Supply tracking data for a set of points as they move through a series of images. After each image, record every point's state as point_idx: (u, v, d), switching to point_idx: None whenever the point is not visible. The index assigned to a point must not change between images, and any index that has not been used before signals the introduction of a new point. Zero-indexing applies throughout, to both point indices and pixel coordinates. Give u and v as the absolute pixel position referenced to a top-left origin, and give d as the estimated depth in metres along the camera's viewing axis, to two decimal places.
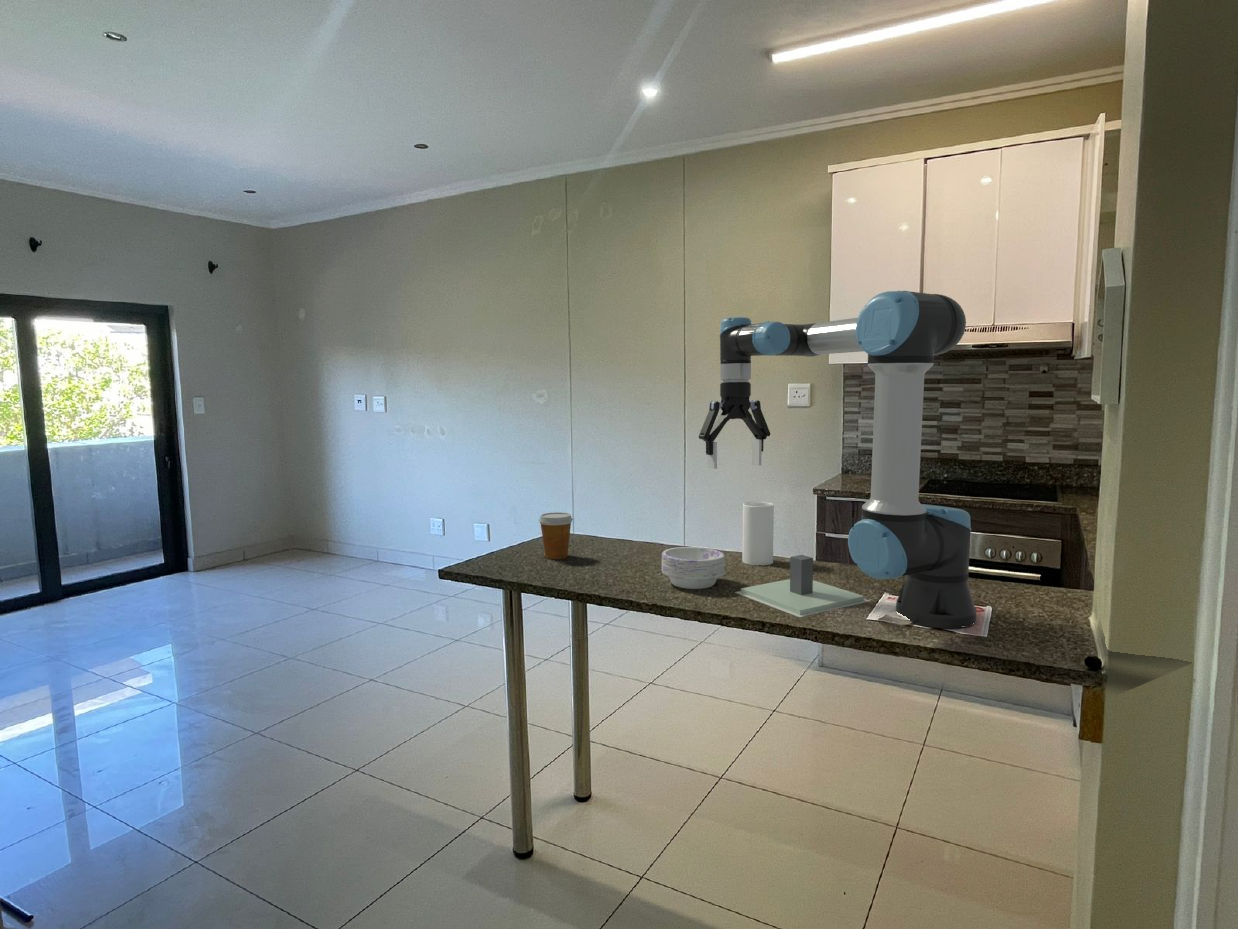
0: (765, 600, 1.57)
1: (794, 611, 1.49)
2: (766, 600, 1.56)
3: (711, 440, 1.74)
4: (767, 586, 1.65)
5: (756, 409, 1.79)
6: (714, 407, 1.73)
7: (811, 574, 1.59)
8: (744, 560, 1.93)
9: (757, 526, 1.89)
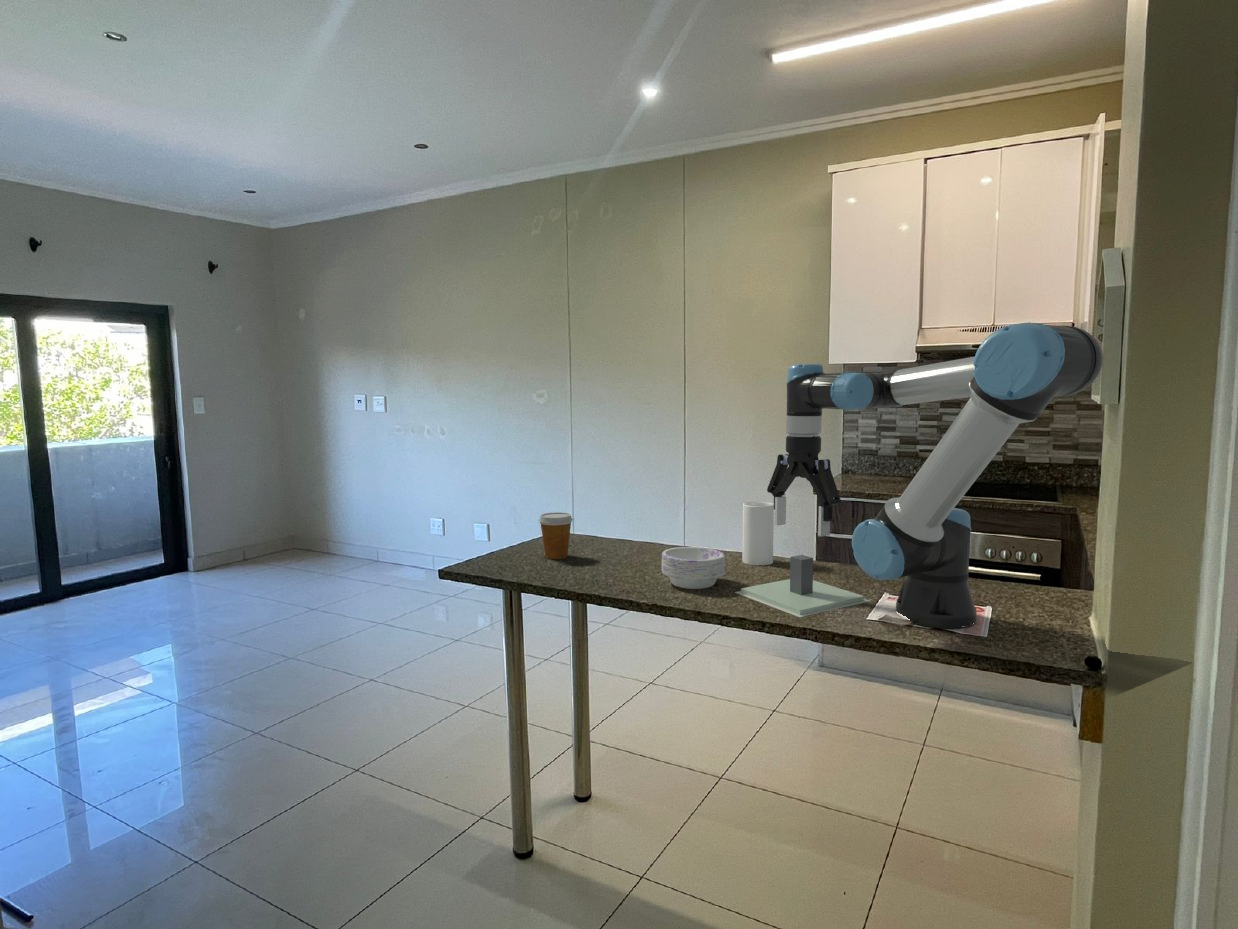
0: (765, 600, 1.57)
1: (794, 611, 1.49)
2: (766, 600, 1.56)
3: (773, 494, 1.65)
4: (767, 586, 1.65)
5: None
6: None
7: (811, 574, 1.59)
8: (744, 560, 1.93)
9: (757, 526, 1.89)
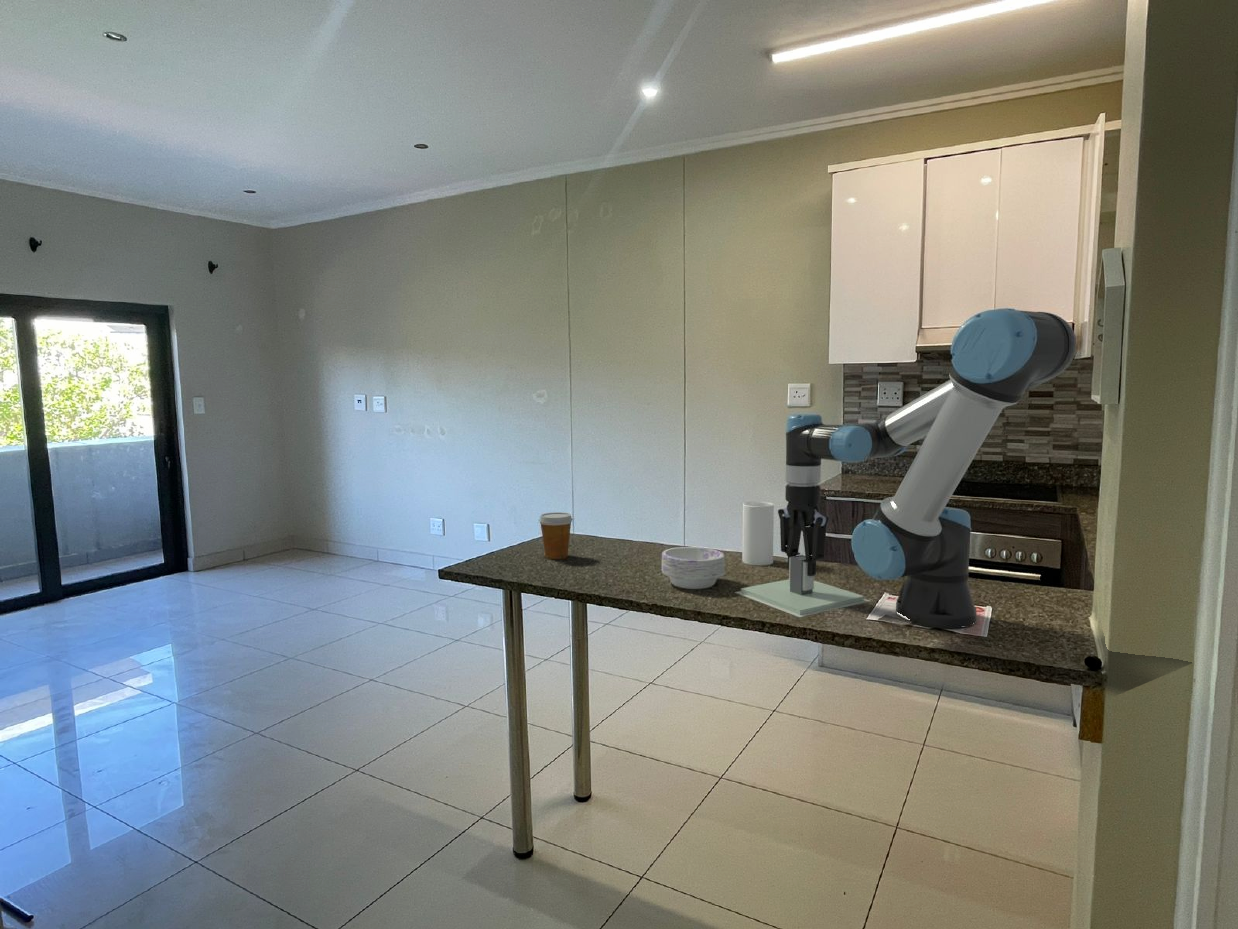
0: (765, 600, 1.57)
1: (794, 611, 1.49)
2: (766, 600, 1.56)
3: (787, 555, 1.62)
4: (767, 586, 1.65)
5: None
6: None
7: None
8: (744, 560, 1.93)
9: (757, 526, 1.89)
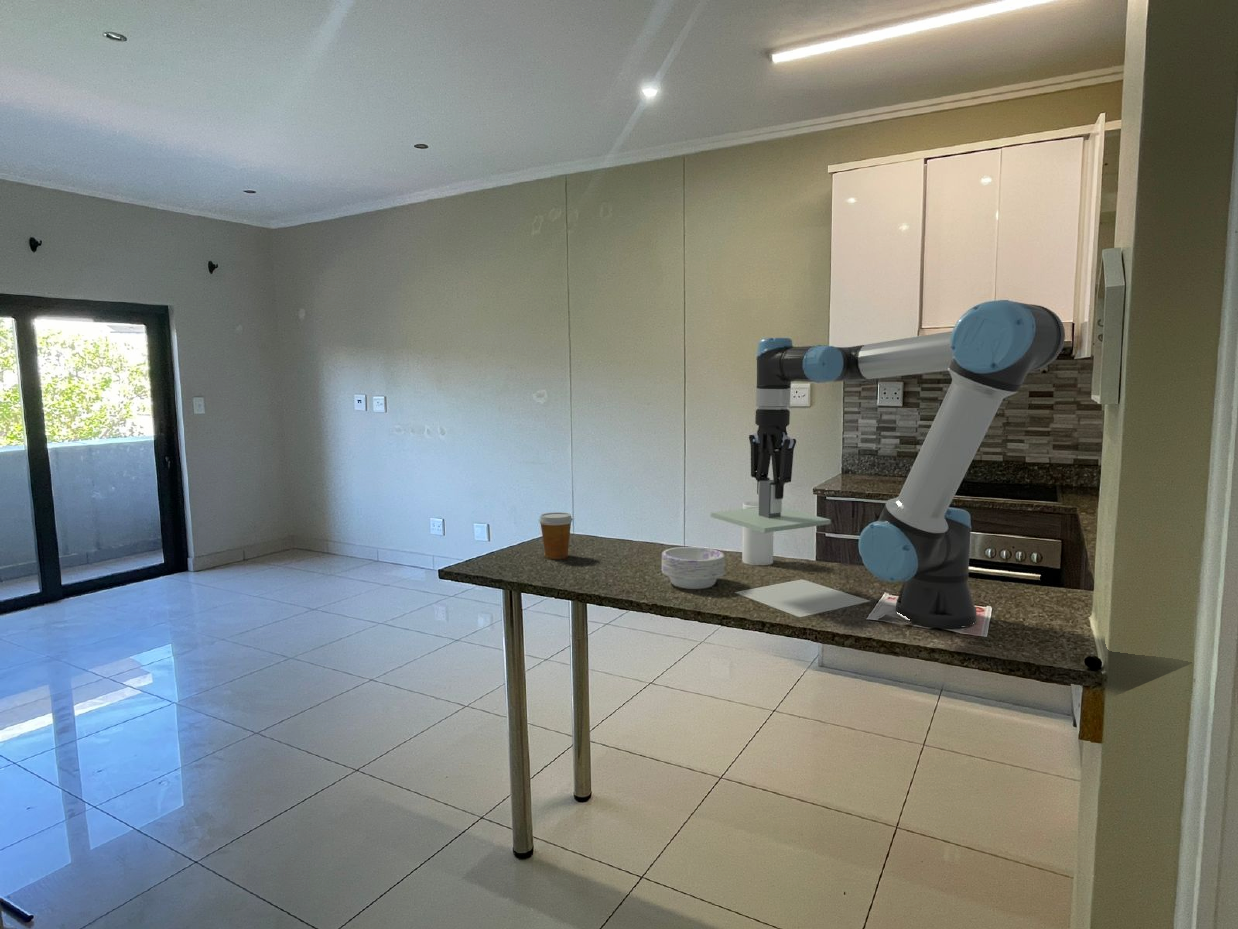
0: (733, 521, 1.59)
1: (759, 529, 1.51)
2: (734, 521, 1.59)
3: (757, 479, 1.64)
4: (737, 511, 1.67)
5: None
6: None
7: None
8: (744, 560, 1.93)
9: None
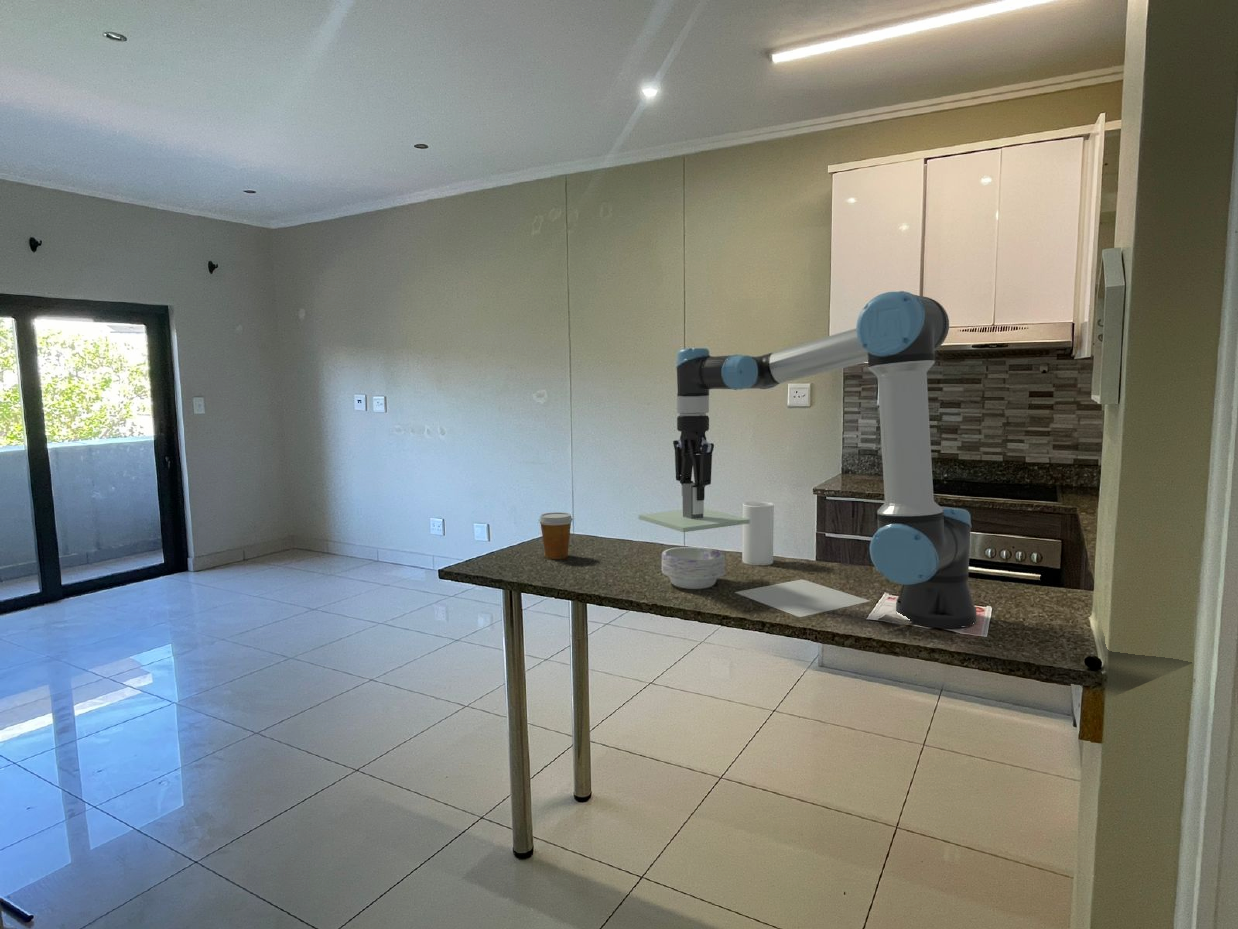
0: (657, 523, 1.67)
1: (679, 529, 1.59)
2: (657, 522, 1.67)
3: (681, 483, 1.72)
4: (664, 513, 1.76)
5: None
6: None
7: None
8: (744, 560, 1.93)
9: (757, 526, 1.89)
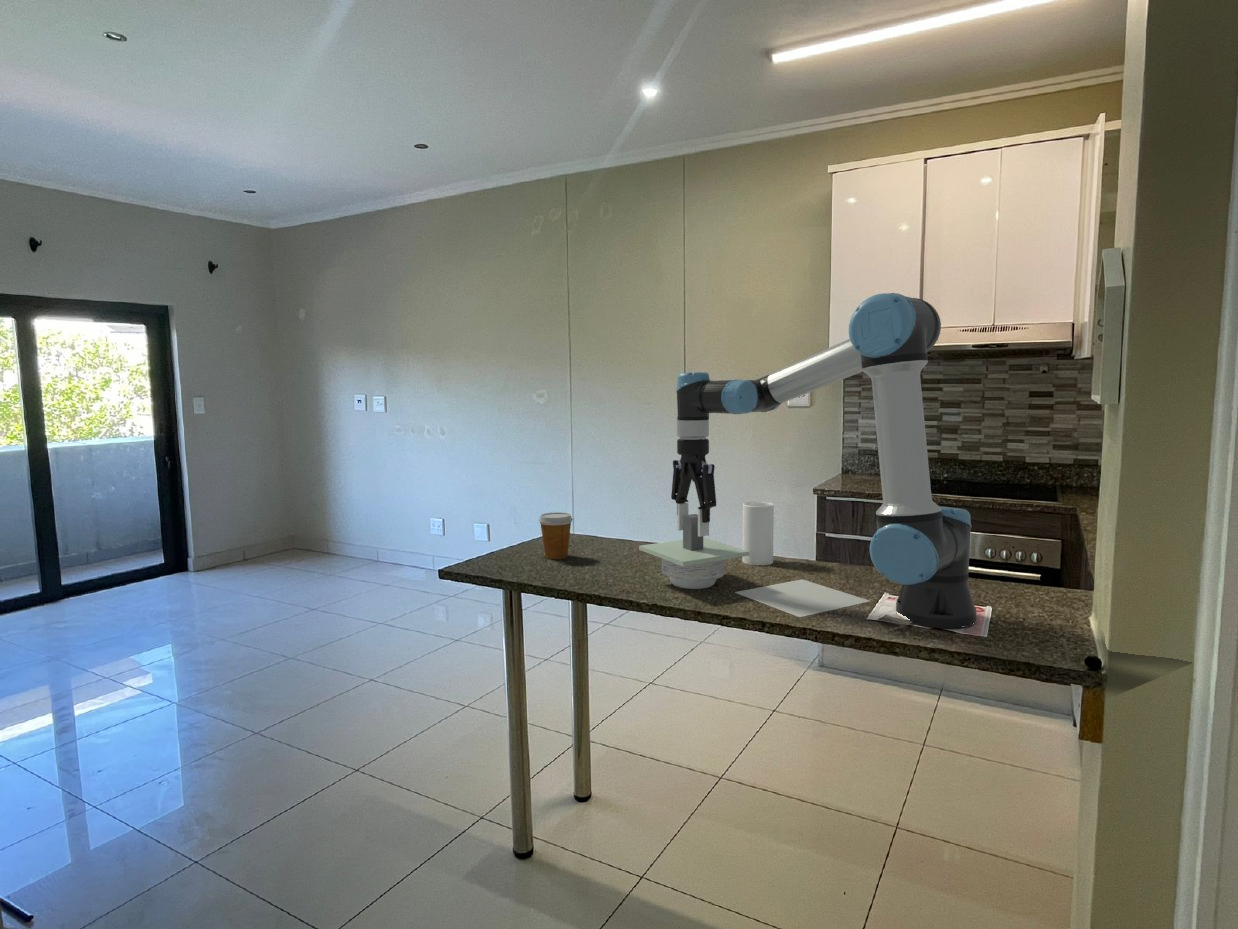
0: (657, 555, 1.68)
1: (678, 563, 1.60)
2: (658, 555, 1.68)
3: (676, 501, 1.74)
4: (664, 544, 1.77)
5: None
6: None
7: None
8: (744, 560, 1.93)
9: (757, 526, 1.89)
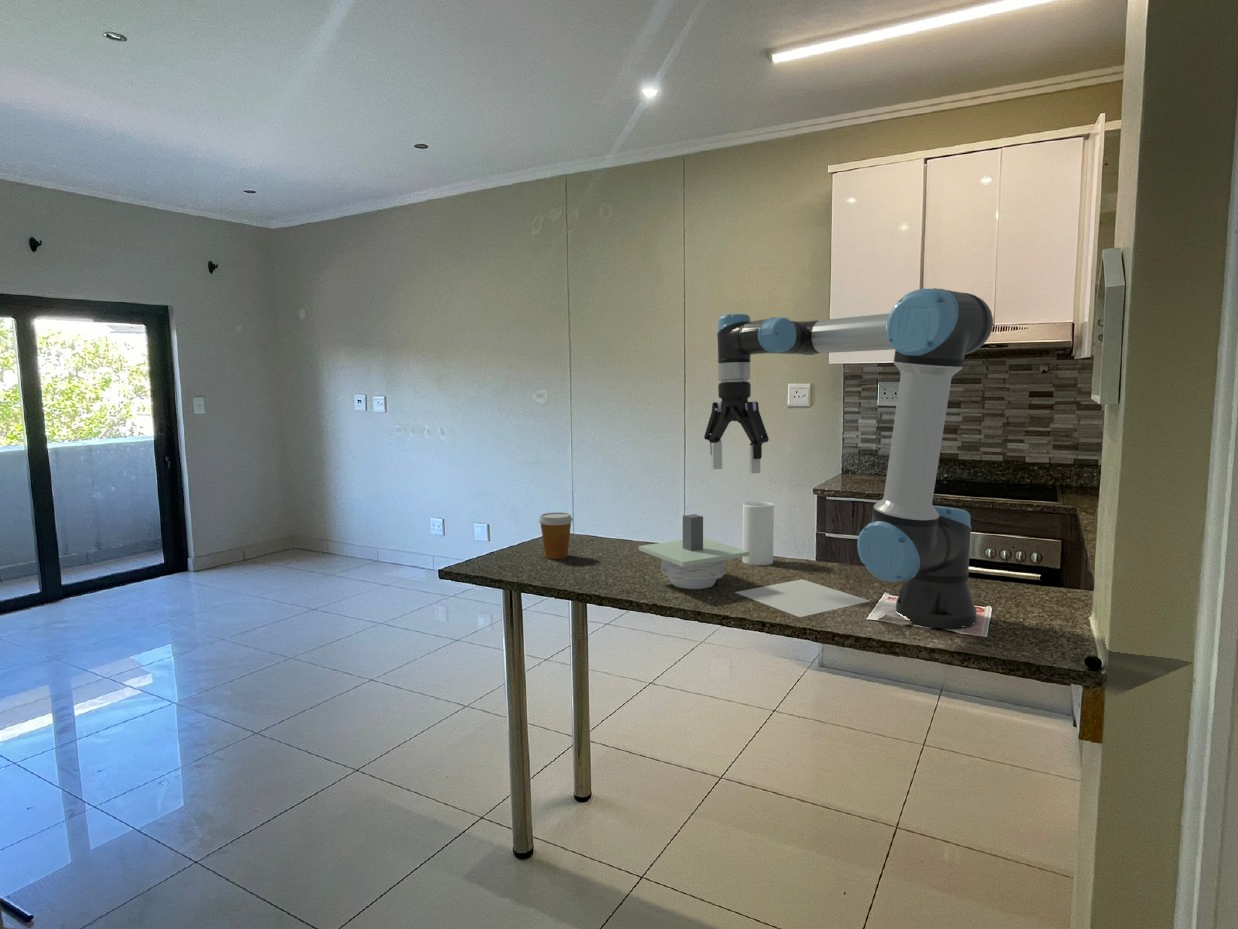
0: (657, 555, 1.68)
1: (678, 563, 1.60)
2: (657, 555, 1.68)
3: (709, 440, 1.75)
4: (664, 544, 1.77)
5: None
6: None
7: (702, 531, 1.70)
8: (744, 560, 1.93)
9: (757, 526, 1.89)
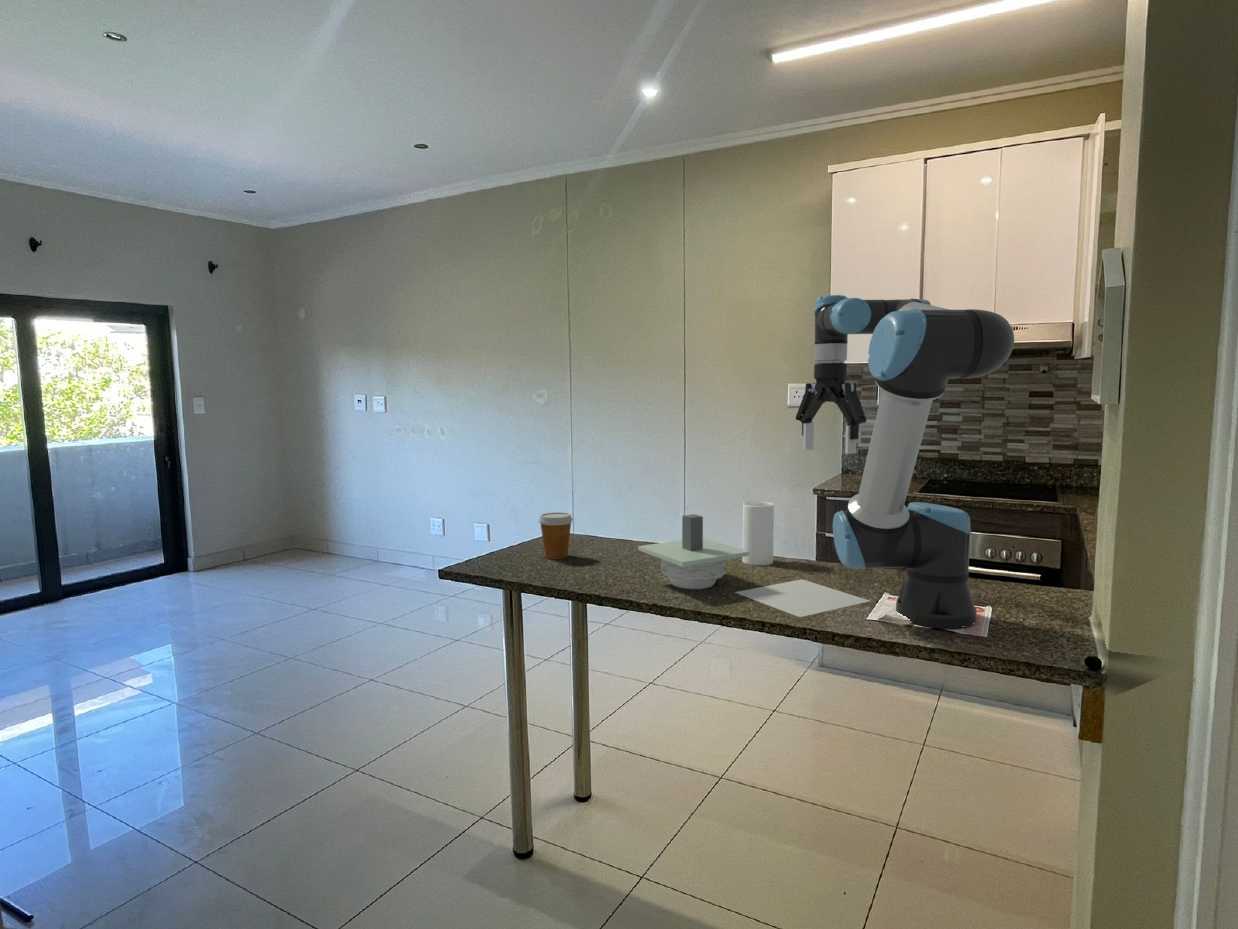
0: (656, 555, 1.68)
1: (678, 563, 1.60)
2: (657, 555, 1.68)
3: (801, 421, 1.77)
4: (663, 544, 1.76)
5: None
6: None
7: (701, 532, 1.70)
8: (744, 560, 1.93)
9: (757, 526, 1.89)
